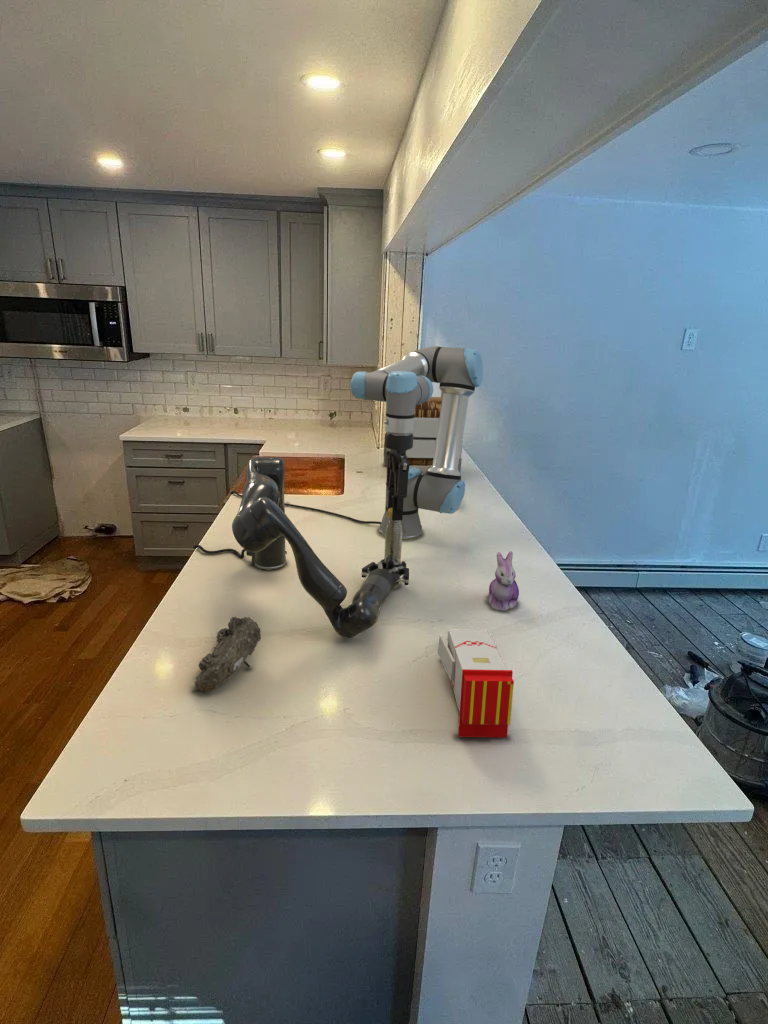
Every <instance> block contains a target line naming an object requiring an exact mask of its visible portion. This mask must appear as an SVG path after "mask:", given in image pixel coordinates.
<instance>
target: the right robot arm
mask: <svg viewBox="0 0 768 1024" xmlns="http://www.w3.org/2000/svg"><path fill="white" fill-rule="evenodd" d="M483 364H484V363H483V359H482V355H481V352H480V351H479V350H477V349H473V348H467V347H449V346H448V347H447V346H437V345H436V346H435V345H434V346H428V347H423V348H419V349H416V350H413V351H410V352H409V353H406V354H405V355H404V356H403V357H402V359H400V360H398V361H395V362H393V363H391V364H388V365H386V366H383V367H381V368H379V369H378V368H377V369H376V370H374V371H371V372H369V371H356V372H355V373H354V374H353V375H352V377H351V381H350V391H351V394H352V396H353V397H354V398H355V399H359V400H363V401H373V402H384V403H385V420H383V424H384V426H385V427H384V430H385V433H384V442H383V447H384V446H385V447H386V448H388V449H391V450H390V451H387V466H386V480H385V481H386V482H385V504H384V505H385V507H384V508H385V509H384V513H383V515H382V519H381V521H377V520H376V521H374V520H373V521H372V520H369V521H368V520H367V521H365V520H360V519H356V518H353V517H350V516H348V515H344V514H340V513H336V512H333V511H328V510H324V509H319V508H314V507H311V506H310V507H309V506H303V505H298V504H291V503H288V502H287V503H286V502H284V504H285V506H286V507H293V508H298V509H304V510H310V511H315V512H319V513H324V514H328V515H332V516H336V517H339V518H343V519H346V520H350V521H353V522H356V523H359V524H366V525H368V524H369V525H371V524H373V525H379V527H378V533H379V534H380V535H381V536H382V537H385V534H386V526H387V524H388V522H389V520H390V518H389V517H388V516H387V515H388V509H389V508H393V510H392V520H393V521H396V520H400V521H401V525H402V529H403V532H402V541H410V540H415V539H418V538H420V537H421V536H422V535H423V525H422V524H421V518H420V515H419V509H420V510H424V511H425V510H426V511H430V512H437V513H440V514H449V515H450V514H451V515H452V514H454V513H456V512H457V511H458V510H459V508H460V506H461V504H462V502H463V499H464V496H465V491H466V482H465V481H464V480H463V479H462V473H461V474H460V472H459V471H458V464H459V457H460V451H461V445H462V446H463V443H462V441H463V439H464V431H465V424H466V418H467V412H468V404H469V398H470V397H471V396H472V395H474V393H475V389H476V388H479V387H480V386H481V385H482V382H483V377H484V365H483ZM433 383H436V384H439V387H438V389H439V390H440V392H442V393H443V397H442V404H441V411H440V417H439V424H438V431H437V438H436V444H435V451H434V458H433V465H431V466H429V468H428V469H427V470H426V474H422V470H421V468H419V467H416V466H410V463H409V462H407V456H406V451H407V450H409V449H411V448H412V447H413V434H412V433H413V432H414V424H415V406H416V405H421V404H423V403H425V402H426V401H428V400H429V399H430V398H431V397H433V394H434V385H433ZM386 431H387V432H386ZM230 494H231V495H233V494H235V495H236V496H238V497H239V498H242V494H240V493H238V492H237V491H236V490H232V491H231V492H230Z"/></svg>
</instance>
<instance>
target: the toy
mask: <svg viewBox="0 0 768 1024" xmlns="http://www.w3.org/2000/svg"><path fill="white" fill-rule="evenodd" d="M446 640H447V643H446V641H445V639H444V636H443V635H442V634H439V637H438V646H437V656H438V657H439V659H440V661H441V663H442V666H443V668H444V670H445V672H446V674H447V677H448V679H449V681H450V684H451V687H452V690H453V693H454V697H455V701H456V705H457V708H458V711H459V714H458V715H459V716H458V730H457V731H458V732H457V737H458V738H508V731H509V726H510V725H511V717H512V707H513V697H514V696H513V695H514V684H515V680H514V679H513V673H514V671H513V670H512V669H508V667H507V665H506V662H505V661H504V659H503V658H502V655H501V653H500V651H499V649H498V647H497V643H496V639H495V637H494V635H493V634H491V632H490V631H489V629H467V628H466V629H465V628H463V629H461V628H460V629H459V628H448V630H447V639H446Z"/></svg>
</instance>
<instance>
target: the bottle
mask: <svg viewBox="0 0 768 1024" xmlns="http://www.w3.org/2000/svg"><path fill="white" fill-rule="evenodd" d="M402 532H403V529H402V525H401V521H400V520H396V521H393V520H392V519H391V518H390V520H389V522H388V524H387V526H386V534H385V538H384V554H383V555H384V557H383V559H384V569H387V570H391V569H393V568H395V567H399V566H400V564H401V563H402V549H403V540H402ZM399 578H401V577H399ZM400 584H401V582H399V583H398V584H397V585H395V587H394V589H393V590H396V589H398V588H400Z"/></svg>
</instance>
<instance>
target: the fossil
mask: <svg viewBox="0 0 768 1024" xmlns="http://www.w3.org/2000/svg"><path fill="white" fill-rule="evenodd" d="M227 627H228V628H227ZM227 627H224V628H220V629H219V630H218V631H217V633H216V644H215V646H214V647H213V649H212V652H210V653H207V654H206V655H205V656H203V657H202V658H201V660H200V661H199V663H198V668H199V670H200V672H199V673H198V674H197V676H195V678H194V679H195V680H194V685H195V690H196V691H200V692H201V693H207V692H211V691H217V690H218V689H220V688H221V686H223V685H224V684H225V683H226V682H228V680H229V679H230V678H231V677H232V676H233V675H235V674H236V673H238V671H239V669H240V667H241V666H242V665H243V664H244V665H245V667H247V668H250V667H251V665H250V663H248V662H247V661H246V660H247V659H248V657H249V656H251V655H253V653H254V652H255V650H256V647H257V646H258V643H259V642H260V641H261V638H262V634H261V630H262V629H261V628H260V626H259V624H258V622H257V621H255V620H254V619H253V618H251V617H250V616H247V617H246V616H245V617H242V618H241V617H237V616H232V617H231V618H229V621H228V624H227Z"/></svg>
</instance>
